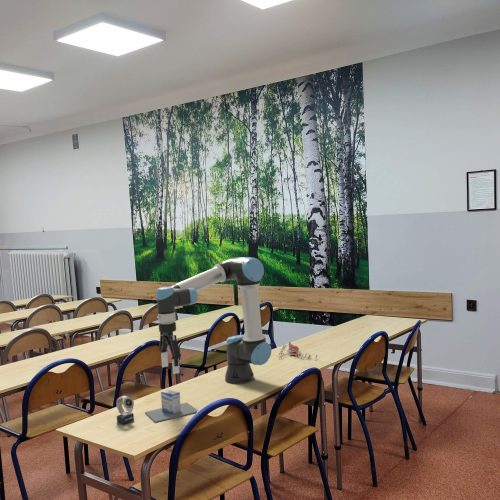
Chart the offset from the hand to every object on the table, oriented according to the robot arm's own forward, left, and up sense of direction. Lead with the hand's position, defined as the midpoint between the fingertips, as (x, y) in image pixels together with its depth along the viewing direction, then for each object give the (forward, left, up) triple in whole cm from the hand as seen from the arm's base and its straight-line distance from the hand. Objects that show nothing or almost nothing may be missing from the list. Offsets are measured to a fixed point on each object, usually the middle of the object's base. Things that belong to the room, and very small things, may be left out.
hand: (170, 370), depth 233 cm
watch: (+21, -1, -19) cm, 28 cm away
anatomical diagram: (-95, -42, -20) cm, 106 cm away
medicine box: (+1, +1, -18) cm, 18 cm away
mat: (+1, +1, -19) cm, 19 cm away
